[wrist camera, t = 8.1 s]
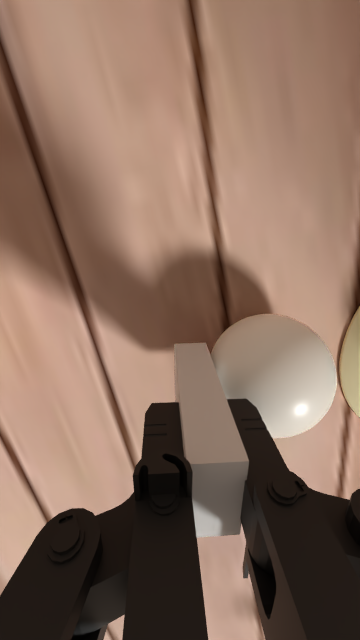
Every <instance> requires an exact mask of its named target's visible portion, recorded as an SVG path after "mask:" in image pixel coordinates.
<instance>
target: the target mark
mask: <svg viewBox="0 0 360 640" xmlns="http://www.w3.org/2000/svg"><path fill="white" fill-rule="evenodd" d="M339 375H340V383H341V387H342V391H343V394H344V397H345V399H346V401H347V402H348V404H349V406H350V407H351V409H352V410H353V411H354V412H355V414H356V415H357V416H358V417H359V418H360V306H359V308H358V309H357V311H356V313H355V314H354V316H353V318H352V320H351V323H350V325H349V327H348V329H347V332H346V335H345V338H344V341H343V344H342V349H341V355H340V363H339Z"/></svg>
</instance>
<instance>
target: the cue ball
mask: <svg viewBox="0 0 360 640" xmlns="http://www.w3.org/2000/svg"><path fill="white" fill-rule="evenodd" d="M211 358H212V361H213V364H214V366H215V369H216V372H217V375H218V377H219V380H220V383H221V386H222V388H223V391H224V394H225V396H226V399H244V398H246V399H248V400H249V401H250V402H251V403H252V404H253V405H254V406H255V407H257V409H258V411H259V413H260V415H261V417H262V421H264V423H265V425H266V427H267V430H268V431H269V433H270V435H271V437H272V438H286V437H291V436H295V435H298V434H301V433H303V432H305V431H307V430H309V429H310V428H312V427H313V426H315V425H316V424H317V423H318V422H319V421H320V420H321V419H322V418H323V417H324V416H325V415H326V413H327V412H328V410H329V408H330V406H331V404H332V402H333V399H334V396H335V393H336V386H337V373H336V367H335V363H334V360H333V357H332V355H331V353H330V351H329V349H328V347H327V346H326V344H325V343H324V342H323V340H322V339H321V338H320V337H319V336H318V335H317V333H316V332H314V331H313V330H312V329H311V328H309V327H308V326H307V325H305V324H303V323H301V322H299V321H297V320H296V319H293V318H290V317H287V316H283V315H278V314H258V315H253V316H249V317H246V318H244V319H242V320H239V321H238V322H236V323H234V324H233V325H231V326H230V327H229V328H228V329H227V330H225V331H224V332H223V333H222V335H221V336H220V337H219V339H218V340H217V341H216V343H215V345H214V347H213V349H212V352H211Z"/></svg>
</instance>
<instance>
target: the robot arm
mask: <svg viewBox="0 0 360 640" xmlns="http://www.w3.org/2000/svg"><path fill="white" fill-rule="evenodd" d="M174 368H175V402H170V403H152V404H151V405H150V407H149V408H148V410H147V411H146V413H145V422H144V434H143V435H144V436H143V446H142V458H141V460H140V461H139V462H138V464H137V465H136V467H135V470H134V473H133V482H134V493H133V494H132V495H131V496H130V498H129V499H127V500H126V501H125V502H124V503H123V504H121V505H119V506H117V507H115V508H113V509H111V510H108V511H106V512H104V513H101V514H99V515H96V516H95V515H94V514H93V513H92V512H90V511H88V510H86V509H84V508H76V509H69V510H67V511H64V512H62V513H59V514H58V515H57V516H55V517H54V518H53V519H51V520H50V521H49V522H47V523H46V525H45V526H44V527H43V528H42V530H41V531H40V532H39V534H38V535H37V536H36V538H35V540H34V541H33V543H32V545H31V546H30V548H29V549H28V551H27V553H26V554H25V556H24V558H23V559H22V561H21V563H20V564H19V566H18V568H17V569H16V571H15V572H14V574H13V576H12V577H11V579H10V581H9V582H8V584H7V586H6V587H5V589H4V591H3V592H2V594H1V595H0V640H103V639H104V635H105V632H106V629H107V625H108V623H110V622H112V621H114V620H115V619H117V618H119V617H121V616H122V615H124V614H125V618H124V629H123V640H208V634H207V625H206V616H205V607H204V599H203V590H202V581H201V572H200V563H199V555H198V546H197V537H211V536H224V535H238V534H240V529H241V523H242V527H243V530H244V534H245V538H246V548H245V555H244V562H243V578H248V573H249V574H250V578H251V582H252V586H253V590H254V594H255V598H256V602H257V606H258V610H259V615H260V619H261V623H262V627H263V631H264V635H265V639H266V640H360V489H358V490H356V491H355V492H354V493H353V494H352V495H351V498H350V500H348V499H344V498H340V497H336V496H332V495H327V494H323V493H320V492H317V491H315V490H312V489H311V488H309V487H308V486H307V485H306V484H305V482H304V481H303V480H302V479H301V478H300V477H298V476H297V475H296V474H294V473H293V472H291V471H289V469H288V468H287V466H286V464H285V462H284V460H283V458H282V456H281V454H280V452H279V450H278V448H277V447H276V445H275V443H274V441H273V439H272V437H271V435H270V433H269V431H268V430H267V427H266V425H265V423H264V421H262V417H261V415H260V413H259V411H258V409H257V407H255V406H254V405H253V404H252V403H251V402H250V401H249V400H248V399H246V398H244V399H226V396H225V394H224V391H223V388H222V386H221V383H220V380H219V377H218V375H217V372H216V369H215V366H214V364H213V361H212V358H211V355H210V353H209V350H208V347H207V345H206V343H178V344H174Z"/></svg>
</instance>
